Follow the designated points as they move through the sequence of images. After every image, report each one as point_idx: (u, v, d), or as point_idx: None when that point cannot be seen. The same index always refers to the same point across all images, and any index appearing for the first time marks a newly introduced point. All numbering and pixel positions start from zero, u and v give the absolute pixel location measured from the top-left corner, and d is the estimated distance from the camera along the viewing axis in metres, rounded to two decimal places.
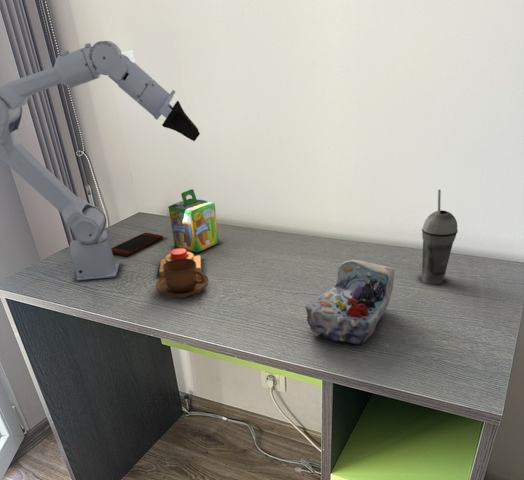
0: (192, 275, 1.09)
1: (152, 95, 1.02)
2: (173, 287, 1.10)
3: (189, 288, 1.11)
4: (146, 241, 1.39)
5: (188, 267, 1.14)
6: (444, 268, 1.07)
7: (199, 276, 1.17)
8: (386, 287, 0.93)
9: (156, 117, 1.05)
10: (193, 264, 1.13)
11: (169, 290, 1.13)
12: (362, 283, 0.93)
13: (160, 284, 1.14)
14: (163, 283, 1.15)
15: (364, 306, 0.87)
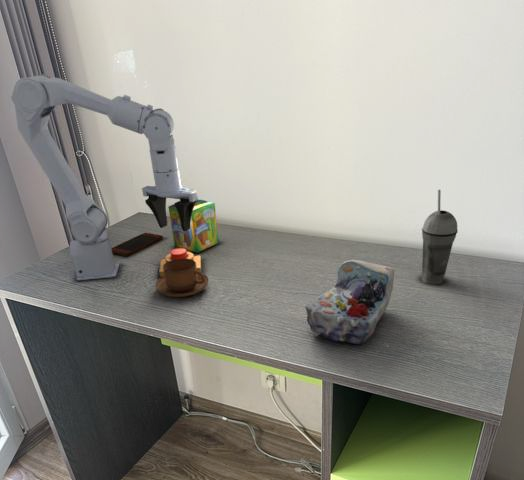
0: (192, 275, 1.09)
1: (177, 178, 1.11)
2: (173, 287, 1.10)
3: (189, 288, 1.11)
4: (146, 241, 1.39)
5: (188, 267, 1.14)
6: (444, 268, 1.07)
7: (199, 276, 1.17)
8: (386, 287, 0.93)
9: (169, 195, 1.11)
10: (193, 264, 1.13)
11: (169, 290, 1.13)
12: (362, 283, 0.93)
13: (160, 284, 1.14)
14: (163, 283, 1.15)
15: (364, 306, 0.87)
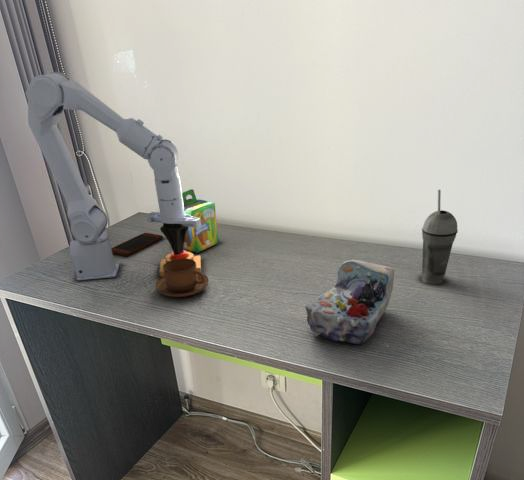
0: (192, 275, 1.09)
1: (181, 205, 1.15)
2: (173, 287, 1.10)
3: (189, 288, 1.11)
4: (146, 241, 1.39)
5: (188, 267, 1.14)
6: (444, 268, 1.07)
7: (199, 276, 1.17)
8: (386, 287, 0.93)
9: (173, 222, 1.15)
10: (193, 264, 1.13)
11: (169, 290, 1.13)
12: (362, 283, 0.93)
13: (160, 284, 1.14)
14: (163, 283, 1.15)
15: (364, 306, 0.87)
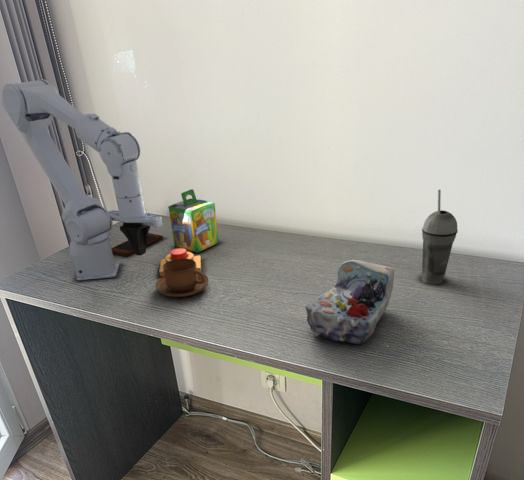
0: (192, 275, 1.09)
1: (141, 203, 1.07)
2: (173, 287, 1.10)
3: (189, 288, 1.11)
4: (146, 241, 1.39)
5: (188, 267, 1.14)
6: (444, 268, 1.07)
7: (199, 276, 1.17)
8: (386, 287, 0.93)
9: (132, 221, 1.07)
10: (193, 264, 1.13)
11: (169, 290, 1.13)
12: (362, 283, 0.93)
13: (160, 284, 1.14)
14: (163, 283, 1.15)
15: (364, 306, 0.87)
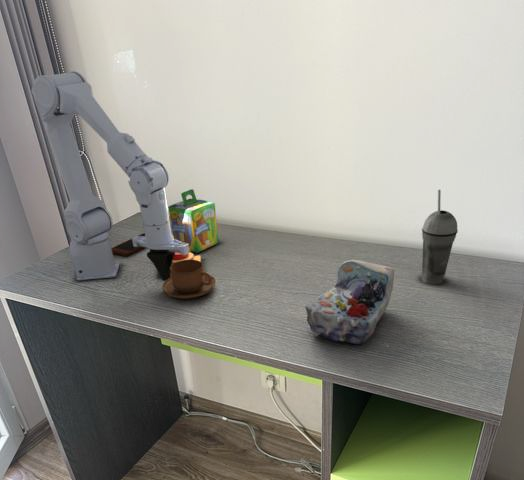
0: (199, 276, 1.09)
1: (168, 230, 1.07)
2: (180, 288, 1.09)
3: (196, 289, 1.10)
4: None
5: (195, 268, 1.14)
6: (444, 268, 1.07)
7: (206, 277, 1.16)
8: (386, 287, 0.93)
9: (159, 248, 1.07)
10: (200, 265, 1.12)
11: (176, 291, 1.12)
12: (362, 283, 0.93)
13: (167, 285, 1.13)
14: (169, 284, 1.14)
15: (364, 306, 0.87)
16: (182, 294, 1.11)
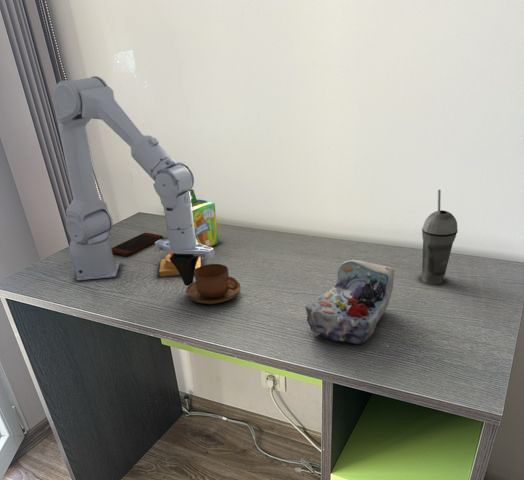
0: (224, 281, 1.06)
1: (193, 234, 1.04)
2: (205, 294, 1.06)
3: (221, 294, 1.07)
4: (146, 241, 1.39)
5: (219, 272, 1.11)
6: (444, 268, 1.07)
7: (229, 282, 1.13)
8: (386, 287, 0.93)
9: (184, 252, 1.04)
10: (224, 269, 1.09)
11: (200, 297, 1.09)
12: (362, 283, 0.93)
13: (190, 290, 1.10)
14: (193, 289, 1.11)
15: (364, 306, 0.87)
16: (207, 299, 1.08)
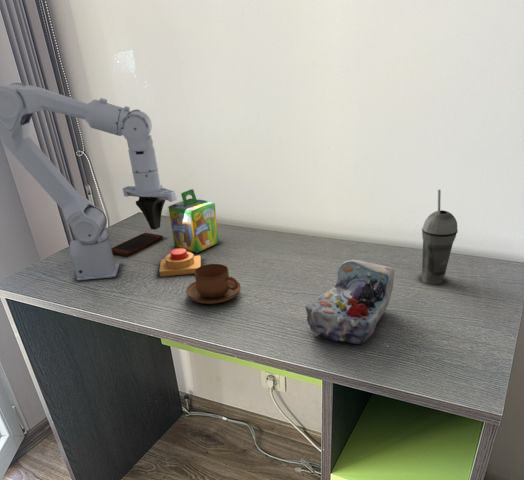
0: (224, 281, 1.06)
1: (156, 178, 1.12)
2: (205, 293, 1.06)
3: (221, 294, 1.07)
4: (146, 241, 1.39)
5: (219, 272, 1.11)
6: (444, 268, 1.07)
7: (229, 282, 1.13)
8: (386, 287, 0.93)
9: (148, 195, 1.12)
10: (224, 269, 1.09)
11: (200, 296, 1.09)
12: (362, 283, 0.93)
13: (190, 290, 1.10)
14: (193, 289, 1.11)
15: (364, 306, 0.87)
16: (207, 299, 1.08)
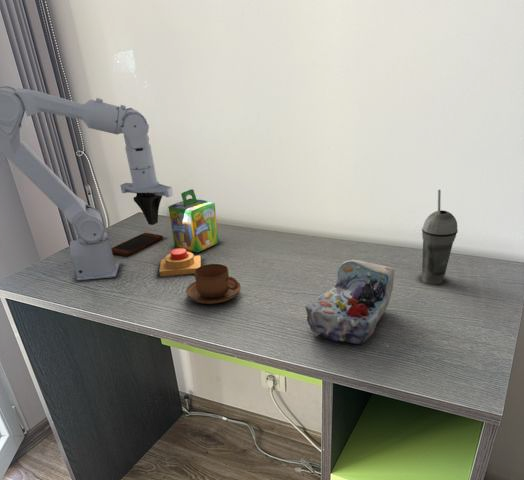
0: (224, 281, 1.06)
1: (153, 174, 1.15)
2: (205, 293, 1.06)
3: (221, 294, 1.07)
4: (146, 241, 1.39)
5: (219, 272, 1.11)
6: (444, 268, 1.07)
7: (229, 282, 1.13)
8: (386, 287, 0.93)
9: (145, 191, 1.15)
10: (224, 269, 1.09)
11: (200, 296, 1.09)
12: (362, 283, 0.93)
13: (190, 290, 1.10)
14: (193, 289, 1.11)
15: (364, 306, 0.87)
16: (207, 299, 1.08)
